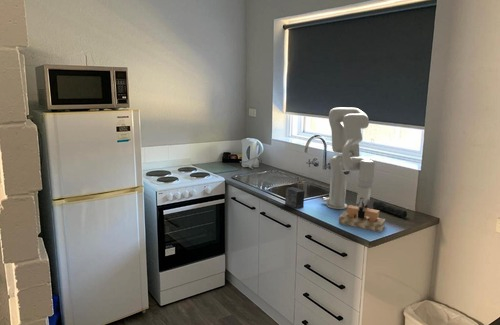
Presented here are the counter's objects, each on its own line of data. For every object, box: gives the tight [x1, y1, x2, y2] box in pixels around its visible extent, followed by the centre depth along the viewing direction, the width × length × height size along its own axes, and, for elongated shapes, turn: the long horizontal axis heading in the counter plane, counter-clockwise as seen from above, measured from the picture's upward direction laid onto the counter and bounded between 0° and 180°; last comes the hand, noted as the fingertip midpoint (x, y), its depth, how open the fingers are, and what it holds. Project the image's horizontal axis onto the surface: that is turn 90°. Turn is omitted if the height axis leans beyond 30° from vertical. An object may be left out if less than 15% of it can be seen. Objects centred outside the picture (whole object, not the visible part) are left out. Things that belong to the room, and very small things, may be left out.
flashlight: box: [372, 200, 408, 219], centre depth 226 cm, size 5×21×5 cm, turn 34°
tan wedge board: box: [346, 204, 381, 222], centre depth 205 cm, size 16×5×8 cm, turn 60°
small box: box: [284, 186, 305, 209], centre depth 233 cm, size 11×6×10 cm, turn 35°
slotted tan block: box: [338, 210, 386, 233], centre depth 205 cm, size 22×10×4 cm, turn 60°
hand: (362, 216), depth 205 cm, fingers closed on tan wedge board, 4 cm apart
